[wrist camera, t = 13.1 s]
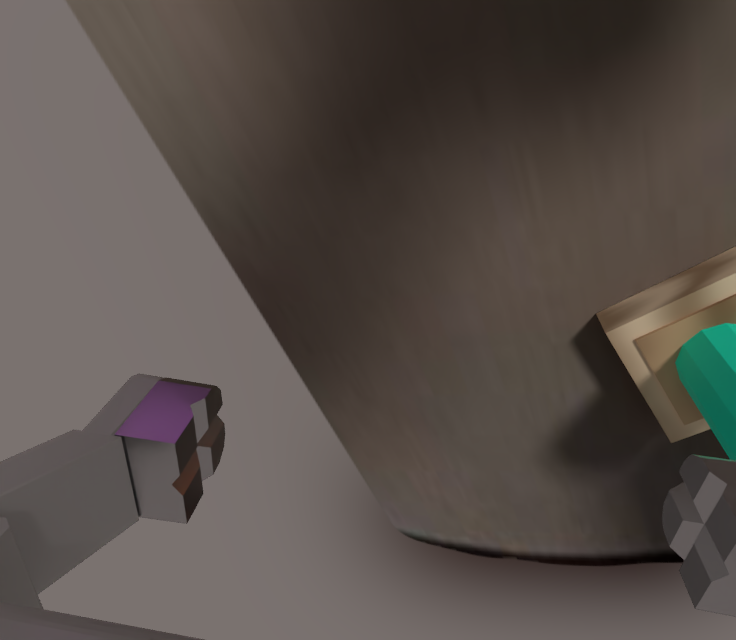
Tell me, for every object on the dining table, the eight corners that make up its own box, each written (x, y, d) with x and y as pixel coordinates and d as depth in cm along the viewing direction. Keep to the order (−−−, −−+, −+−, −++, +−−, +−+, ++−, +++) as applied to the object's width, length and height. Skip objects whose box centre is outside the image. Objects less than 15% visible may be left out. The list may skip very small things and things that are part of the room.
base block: (763, 232, 37) (789, 250, 34) (817, 357, 41) (844, 383, 38) (595, 313, 41) (606, 335, 39) (658, 418, 45) (672, 445, 42)
